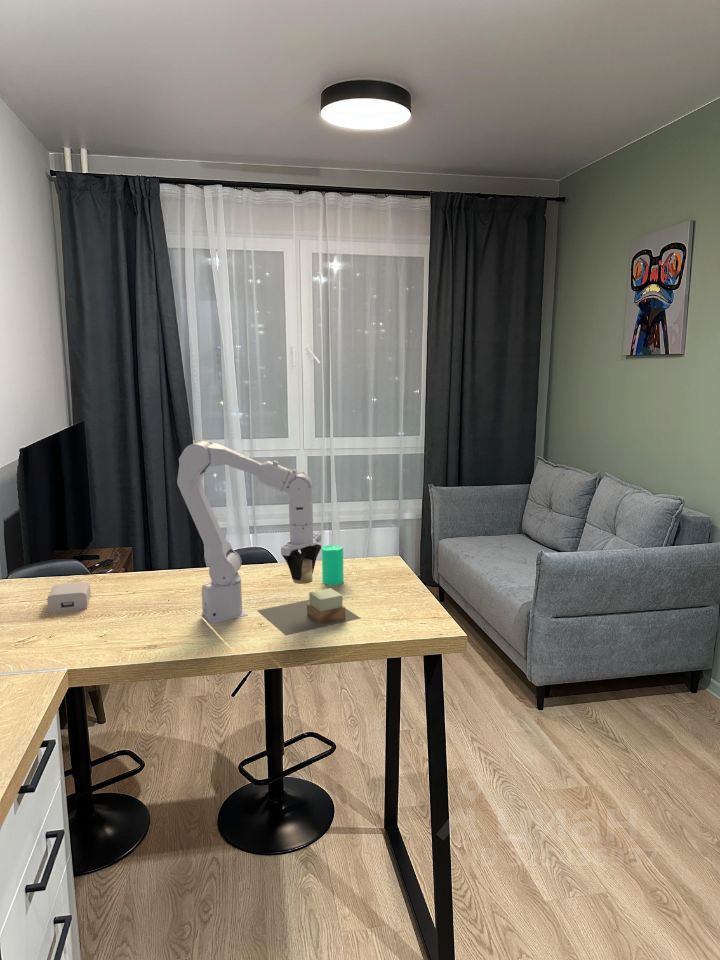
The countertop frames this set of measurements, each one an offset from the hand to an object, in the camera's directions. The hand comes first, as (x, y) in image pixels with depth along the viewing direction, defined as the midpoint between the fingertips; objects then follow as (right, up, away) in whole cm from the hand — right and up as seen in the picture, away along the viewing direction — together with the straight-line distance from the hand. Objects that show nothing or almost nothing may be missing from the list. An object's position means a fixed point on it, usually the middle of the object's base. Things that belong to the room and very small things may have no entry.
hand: (302, 576), depth 165 cm
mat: (+1, -10, +1) cm, 10 cm away
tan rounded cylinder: (0, -1, 0) cm, 1 cm away
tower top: (+6, -7, -2) cm, 9 cm away
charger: (-63, -9, +13) cm, 65 cm away
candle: (+6, -6, +25) cm, 27 cm away
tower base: (+6, -10, -1) cm, 12 cm away
